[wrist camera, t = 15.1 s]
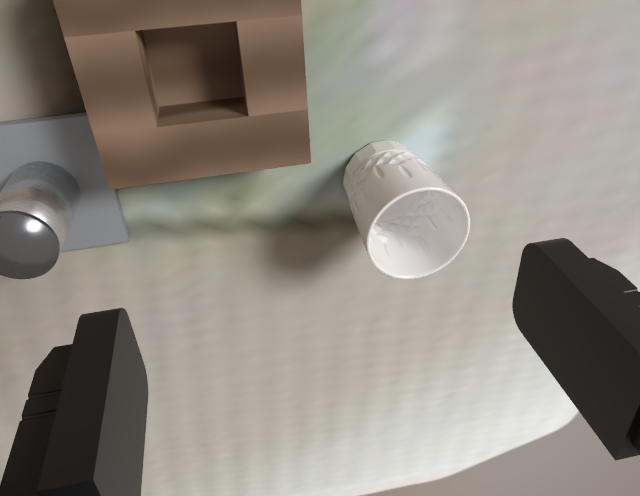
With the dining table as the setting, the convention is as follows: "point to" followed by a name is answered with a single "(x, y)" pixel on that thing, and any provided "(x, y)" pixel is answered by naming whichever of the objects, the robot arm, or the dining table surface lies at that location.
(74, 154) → the mat
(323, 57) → the dining table surface
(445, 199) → the white cup
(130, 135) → the housing
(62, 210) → the shiny metal cylinder
